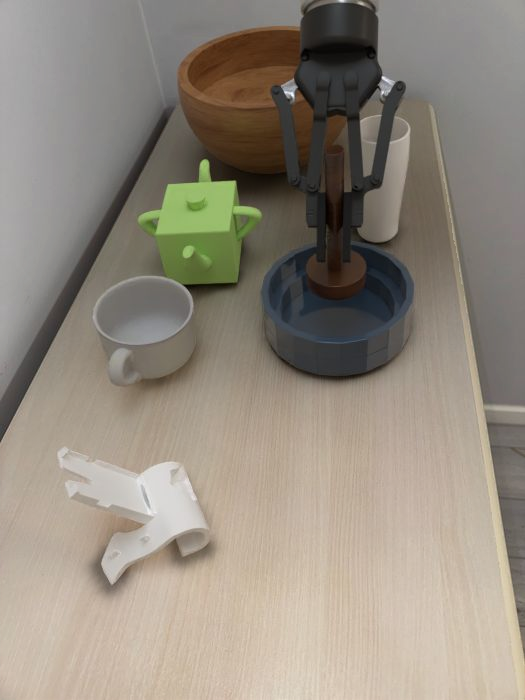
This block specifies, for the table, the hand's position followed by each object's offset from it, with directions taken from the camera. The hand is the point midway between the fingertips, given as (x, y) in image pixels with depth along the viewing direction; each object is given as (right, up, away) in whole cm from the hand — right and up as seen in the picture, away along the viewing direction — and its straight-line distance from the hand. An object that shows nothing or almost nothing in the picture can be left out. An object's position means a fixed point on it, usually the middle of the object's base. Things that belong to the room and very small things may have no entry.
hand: (333, 260), depth 66 cm
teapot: (-14, +2, +22) cm, 26 cm away
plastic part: (-17, -26, -3) cm, 31 cm away
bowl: (-5, +20, +37) cm, 43 cm away
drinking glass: (+8, +7, +23) cm, 26 cm away
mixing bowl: (+2, -6, +12) cm, 14 cm away
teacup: (-20, -11, +11) cm, 25 cm away
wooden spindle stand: (+1, -1, +7) cm, 7 cm away
